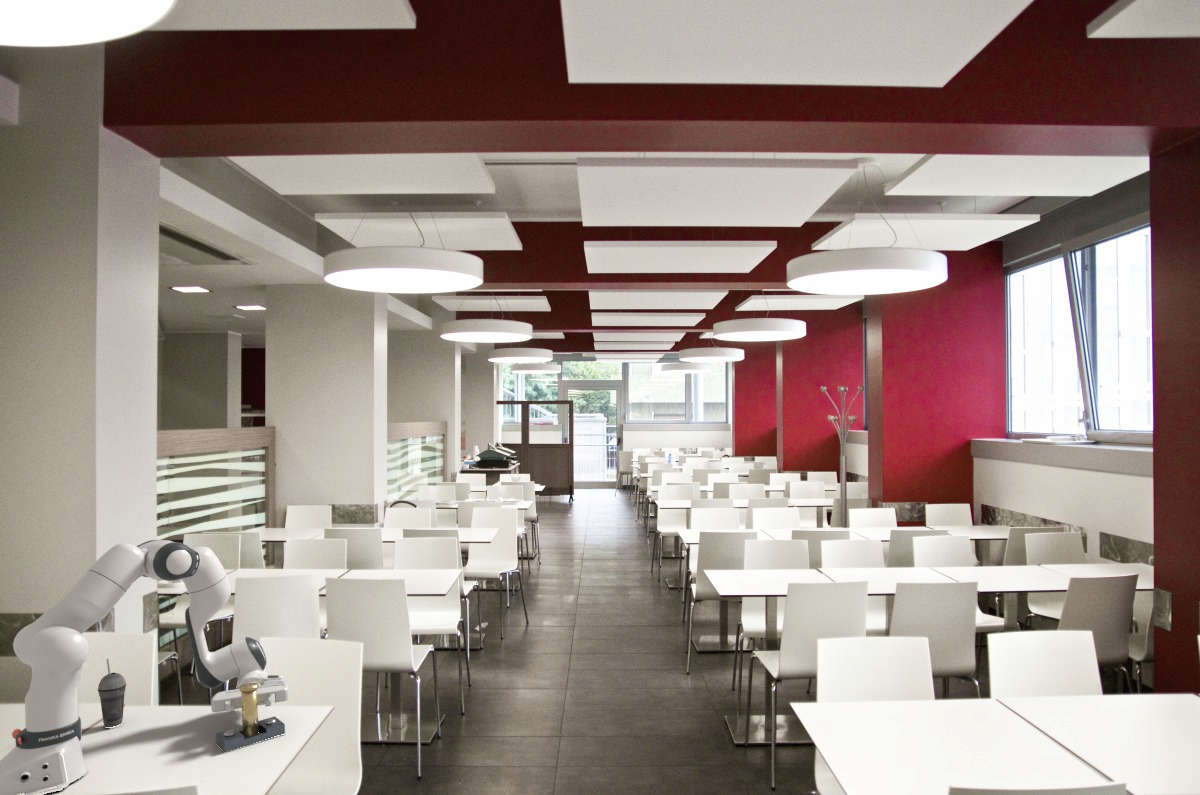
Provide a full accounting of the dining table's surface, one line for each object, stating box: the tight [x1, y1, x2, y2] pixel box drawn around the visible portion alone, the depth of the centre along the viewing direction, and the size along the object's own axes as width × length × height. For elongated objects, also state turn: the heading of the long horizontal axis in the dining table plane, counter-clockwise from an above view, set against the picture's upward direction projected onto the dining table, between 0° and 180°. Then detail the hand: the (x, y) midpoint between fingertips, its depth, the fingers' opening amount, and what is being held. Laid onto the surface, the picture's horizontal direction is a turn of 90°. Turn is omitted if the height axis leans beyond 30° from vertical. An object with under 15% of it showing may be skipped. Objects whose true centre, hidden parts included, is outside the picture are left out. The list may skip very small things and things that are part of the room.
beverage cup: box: [97, 658, 127, 727], centre depth 231 cm, size 7×7×20 cm
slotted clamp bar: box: [215, 716, 286, 753], centre depth 217 cm, size 16×8×4 cm, turn 132°
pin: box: [240, 683, 259, 738], centre depth 217 cm, size 5×5×15 cm
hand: (249, 706), depth 216 cm, fingers open, 8 cm apart
